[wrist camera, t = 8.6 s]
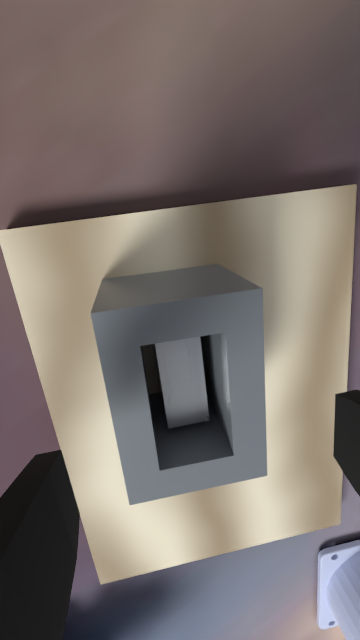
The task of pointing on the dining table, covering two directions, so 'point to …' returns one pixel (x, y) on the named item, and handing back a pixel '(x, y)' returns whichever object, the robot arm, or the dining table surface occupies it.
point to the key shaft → (182, 381)
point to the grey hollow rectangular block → (219, 369)
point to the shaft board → (89, 387)
